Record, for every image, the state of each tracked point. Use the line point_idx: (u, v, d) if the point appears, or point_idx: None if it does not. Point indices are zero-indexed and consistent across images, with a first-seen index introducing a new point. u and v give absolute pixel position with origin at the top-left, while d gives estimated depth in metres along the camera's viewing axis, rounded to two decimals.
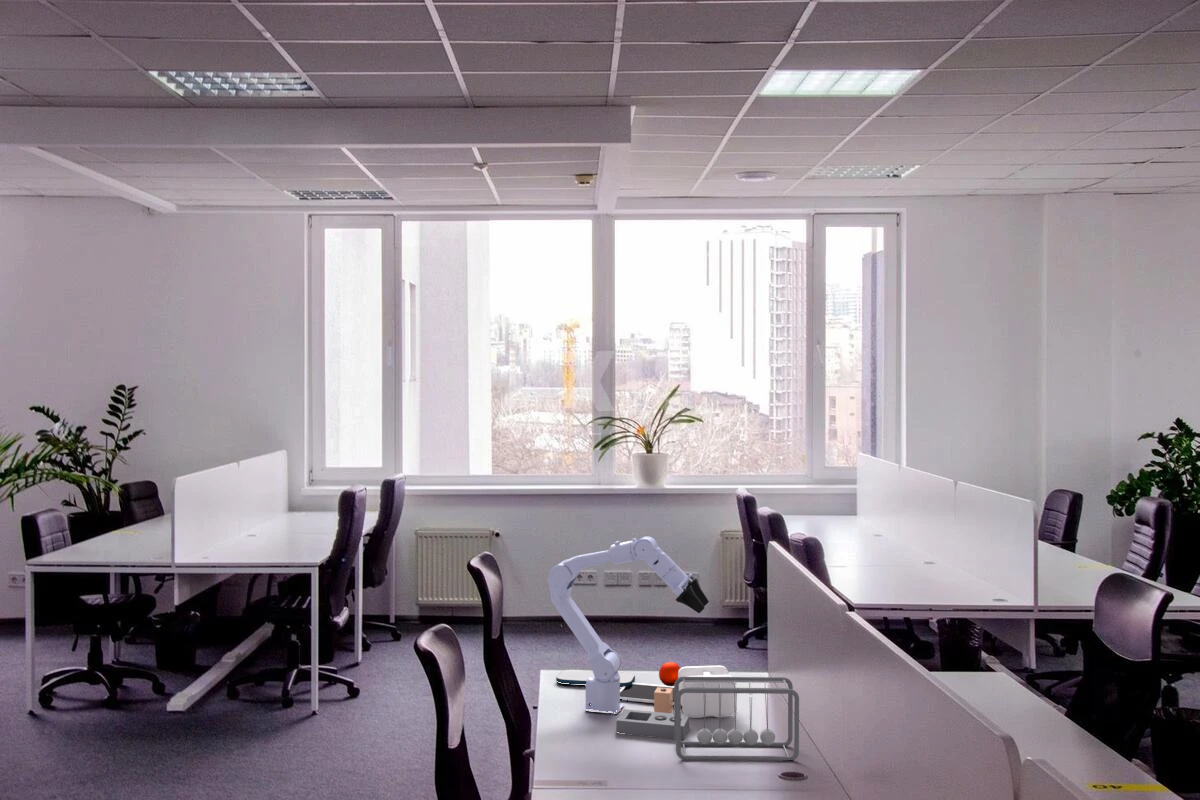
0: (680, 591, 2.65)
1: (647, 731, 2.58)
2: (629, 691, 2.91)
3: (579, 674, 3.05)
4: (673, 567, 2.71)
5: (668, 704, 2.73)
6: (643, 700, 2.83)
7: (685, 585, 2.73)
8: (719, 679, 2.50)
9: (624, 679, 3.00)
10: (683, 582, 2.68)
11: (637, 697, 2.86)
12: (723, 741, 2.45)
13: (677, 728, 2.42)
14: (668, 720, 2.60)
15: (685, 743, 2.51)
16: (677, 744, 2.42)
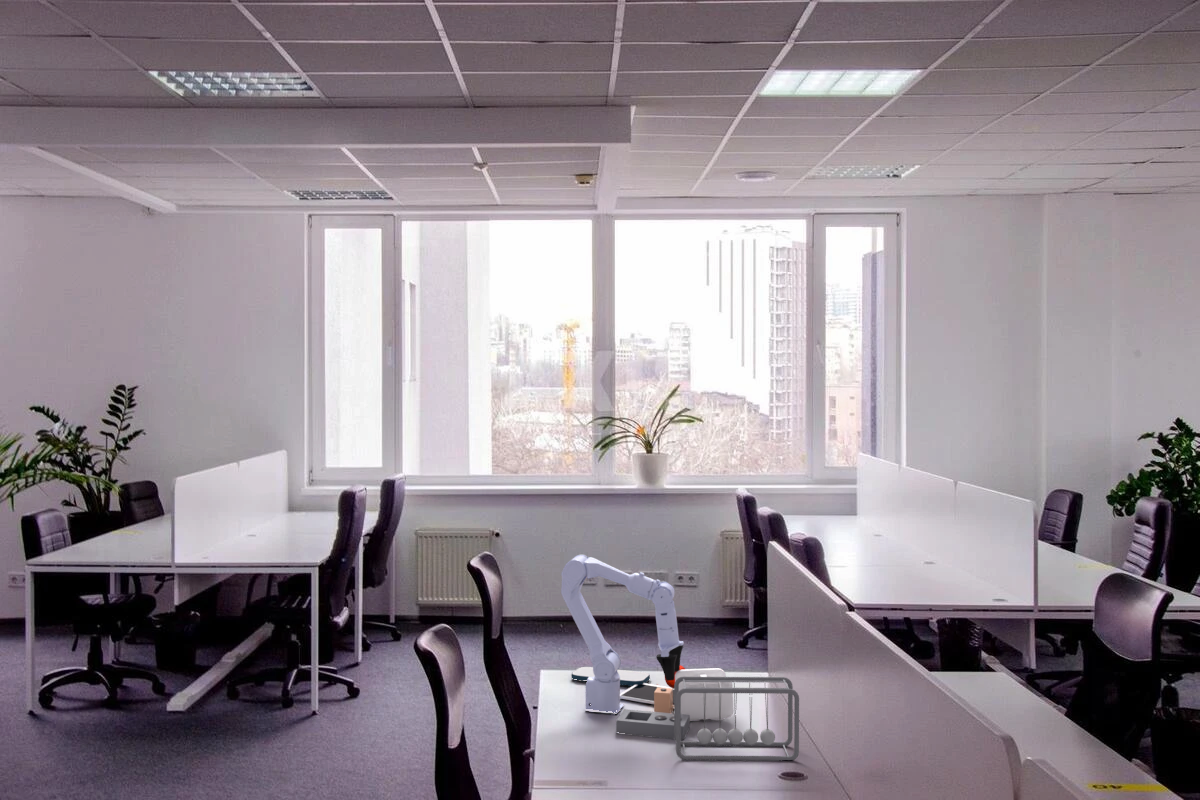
0: (666, 655, 2.67)
1: (647, 731, 2.58)
2: (636, 691, 2.91)
3: None
4: (673, 628, 2.72)
5: (668, 704, 2.73)
6: (645, 701, 2.83)
7: None
8: (719, 679, 2.50)
9: (637, 677, 3.01)
10: (673, 647, 2.70)
11: (641, 697, 2.85)
12: (723, 741, 2.45)
13: (677, 728, 2.42)
14: (668, 720, 2.60)
15: (685, 743, 2.51)
16: (677, 744, 2.42)
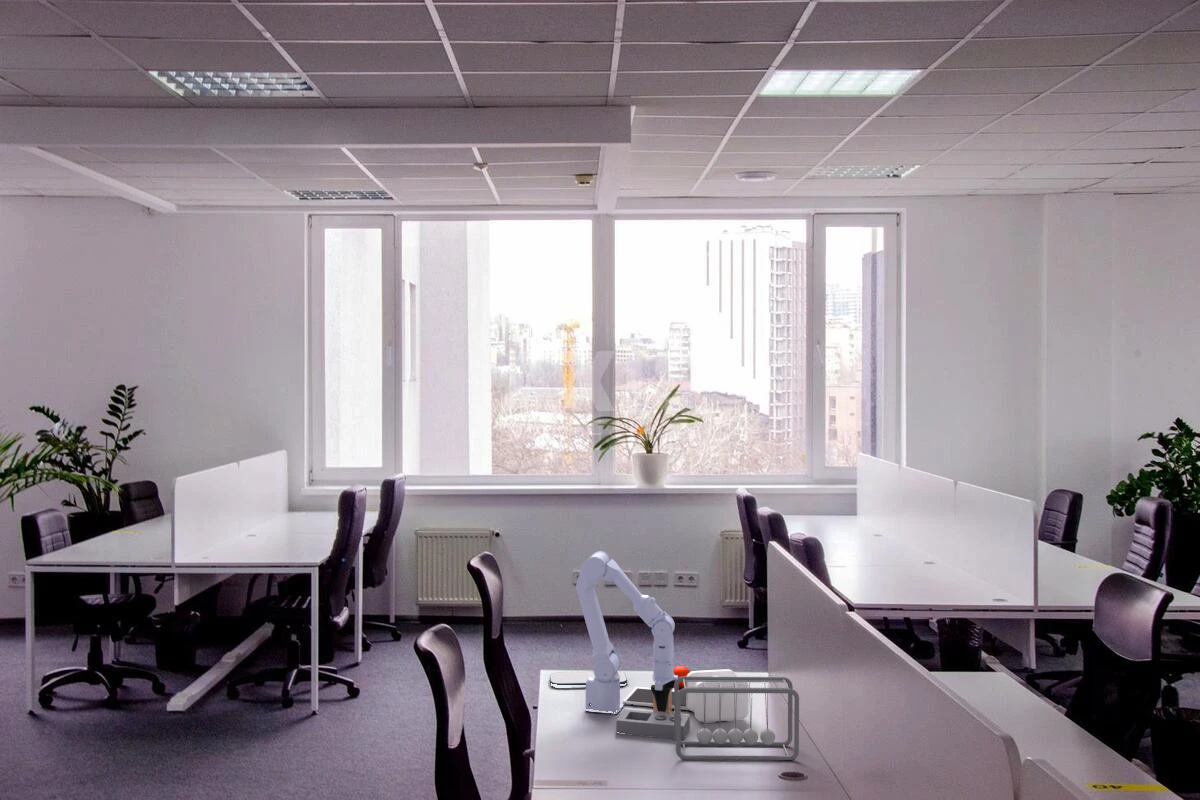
0: (659, 688, 2.68)
1: (647, 731, 2.58)
2: (638, 696, 2.88)
3: (570, 677, 3.04)
4: (670, 662, 2.73)
5: (667, 704, 2.73)
6: None
7: None
8: (719, 679, 2.50)
9: None
10: (667, 681, 2.71)
11: (647, 702, 2.82)
12: (723, 741, 2.45)
13: (677, 728, 2.42)
14: (668, 720, 2.60)
15: (685, 743, 2.51)
16: (677, 744, 2.42)
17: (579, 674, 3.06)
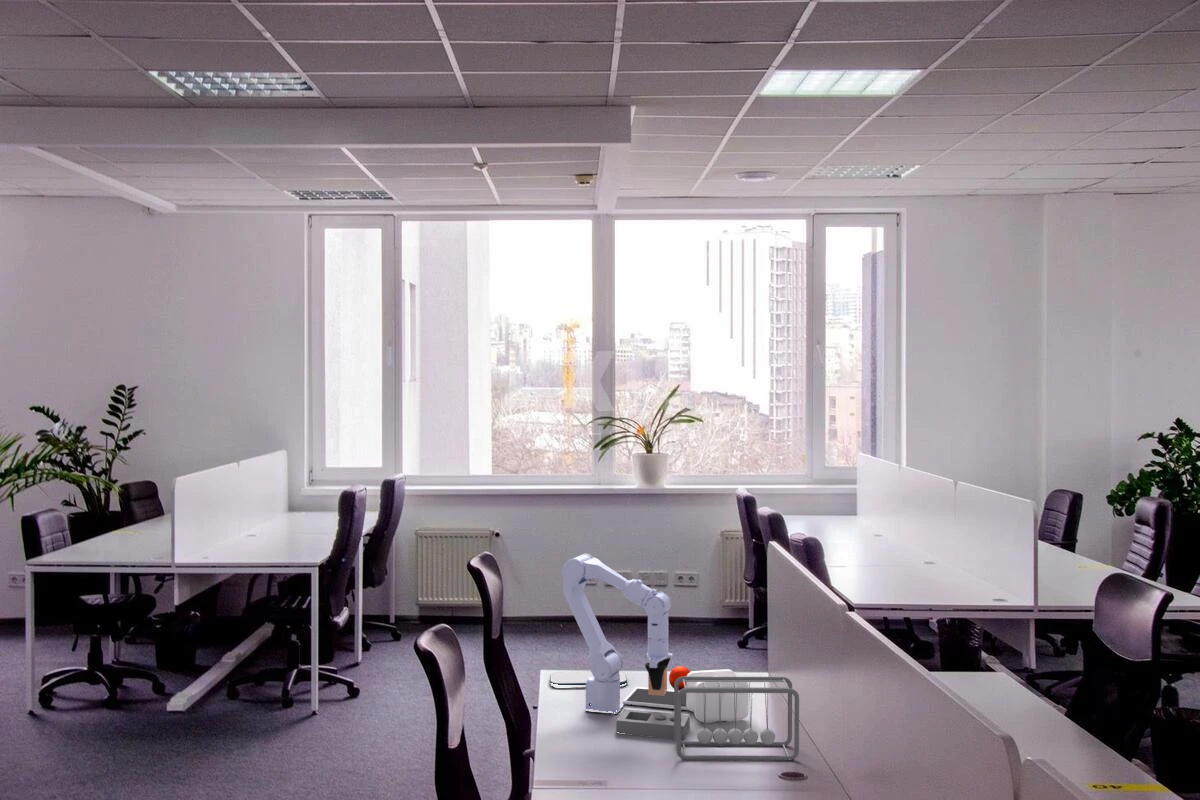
0: (654, 666, 2.65)
1: (647, 731, 2.58)
2: (638, 696, 2.88)
3: (570, 676, 3.04)
4: (664, 640, 2.70)
5: (662, 683, 2.70)
6: (653, 705, 2.80)
7: None
8: (719, 679, 2.51)
9: None
10: (662, 659, 2.68)
11: (647, 702, 2.82)
12: (723, 741, 2.45)
13: (677, 728, 2.42)
14: (668, 720, 2.60)
15: (685, 743, 2.51)
16: (677, 744, 2.42)
17: (579, 674, 3.07)
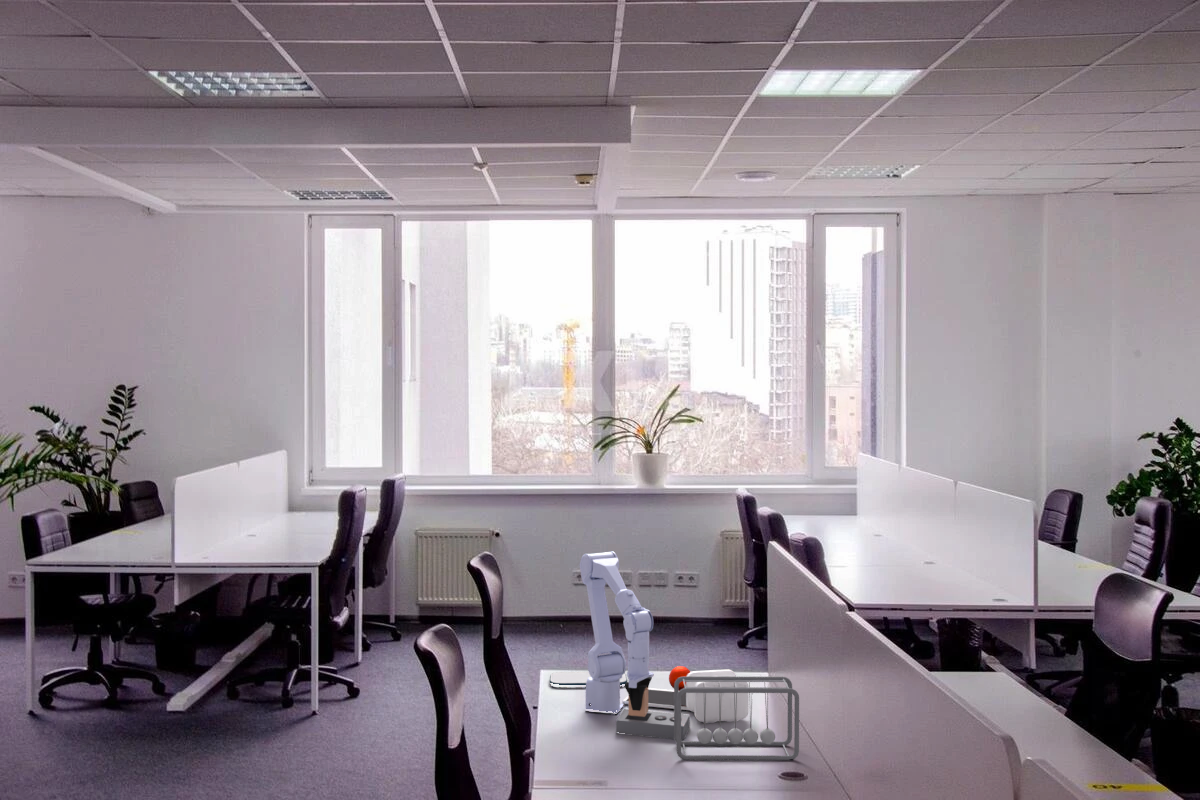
0: (634, 686, 2.56)
1: (647, 731, 2.58)
2: None
3: (570, 676, 3.04)
4: (645, 658, 2.60)
5: (643, 703, 2.60)
6: (653, 705, 2.80)
7: None
8: (719, 679, 2.51)
9: None
10: (642, 678, 2.59)
11: None
12: (723, 741, 2.45)
13: (677, 728, 2.42)
14: (668, 720, 2.60)
15: (685, 743, 2.51)
16: (677, 744, 2.42)
17: (579, 674, 3.07)
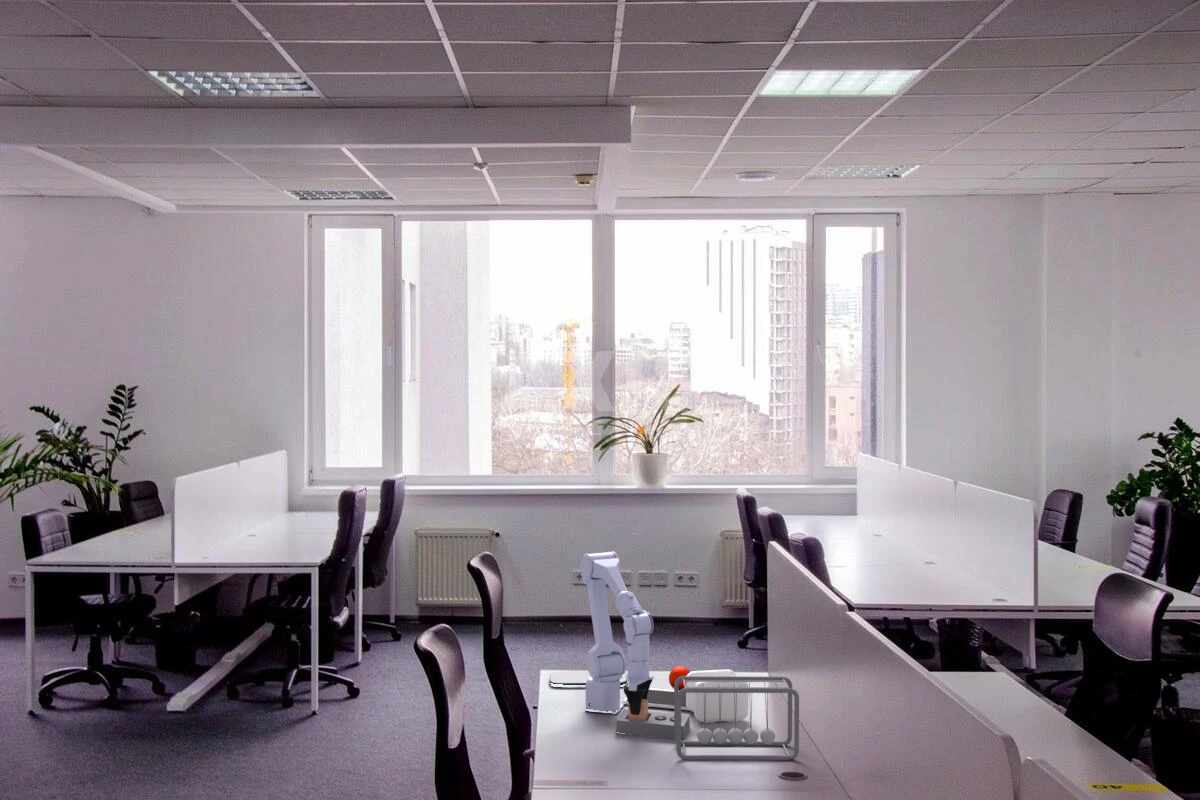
0: (634, 689, 2.56)
1: (647, 731, 2.58)
2: None
3: (570, 676, 3.04)
4: (645, 661, 2.60)
5: (643, 716, 2.60)
6: (653, 705, 2.80)
7: None
8: (719, 679, 2.51)
9: None
10: (642, 681, 2.59)
11: None
12: (723, 741, 2.45)
13: (677, 728, 2.42)
14: (668, 720, 2.60)
15: (685, 743, 2.51)
16: (677, 744, 2.42)
17: (579, 674, 3.07)
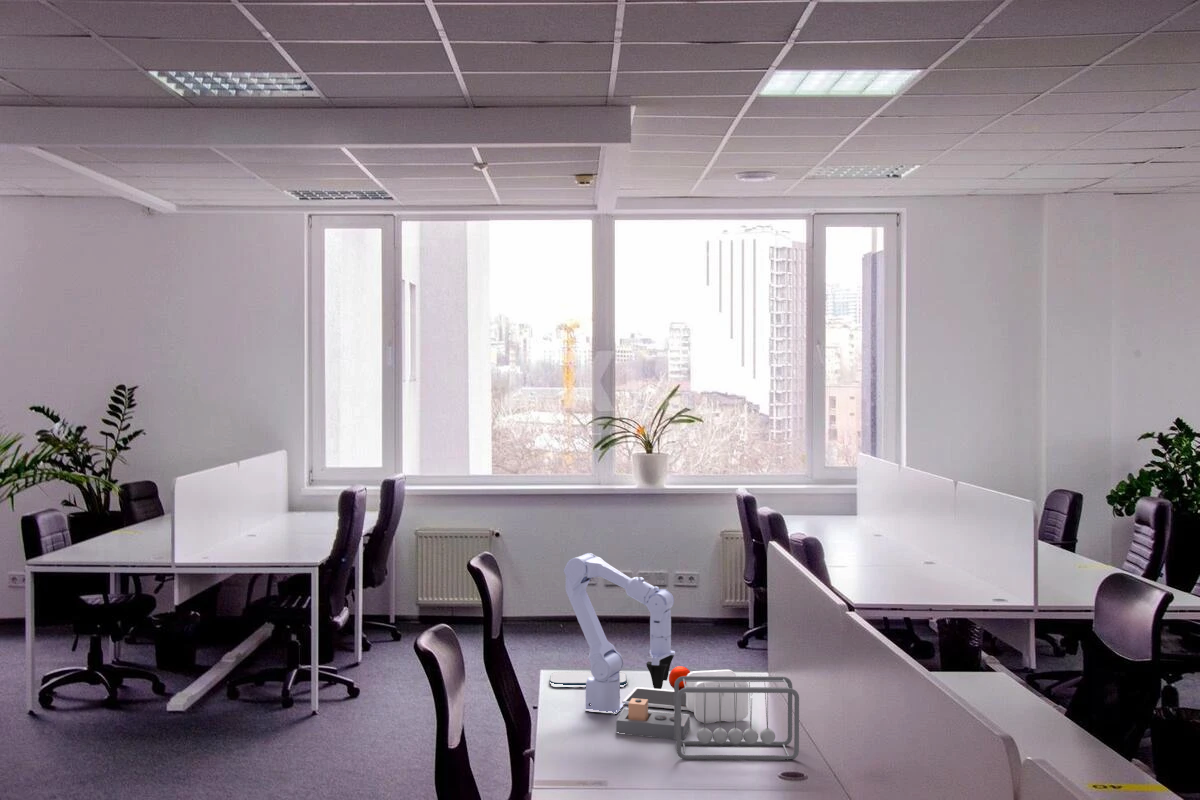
0: (656, 663, 2.64)
1: (647, 731, 2.58)
2: (638, 696, 2.87)
3: (570, 676, 3.04)
4: (667, 637, 2.69)
5: (643, 716, 2.60)
6: (653, 705, 2.79)
7: None
8: (719, 679, 2.51)
9: None
10: (664, 656, 2.67)
11: None
12: (723, 740, 2.45)
13: (677, 728, 2.42)
14: (668, 720, 2.60)
15: (685, 743, 2.51)
16: (677, 744, 2.42)
17: (580, 674, 3.07)
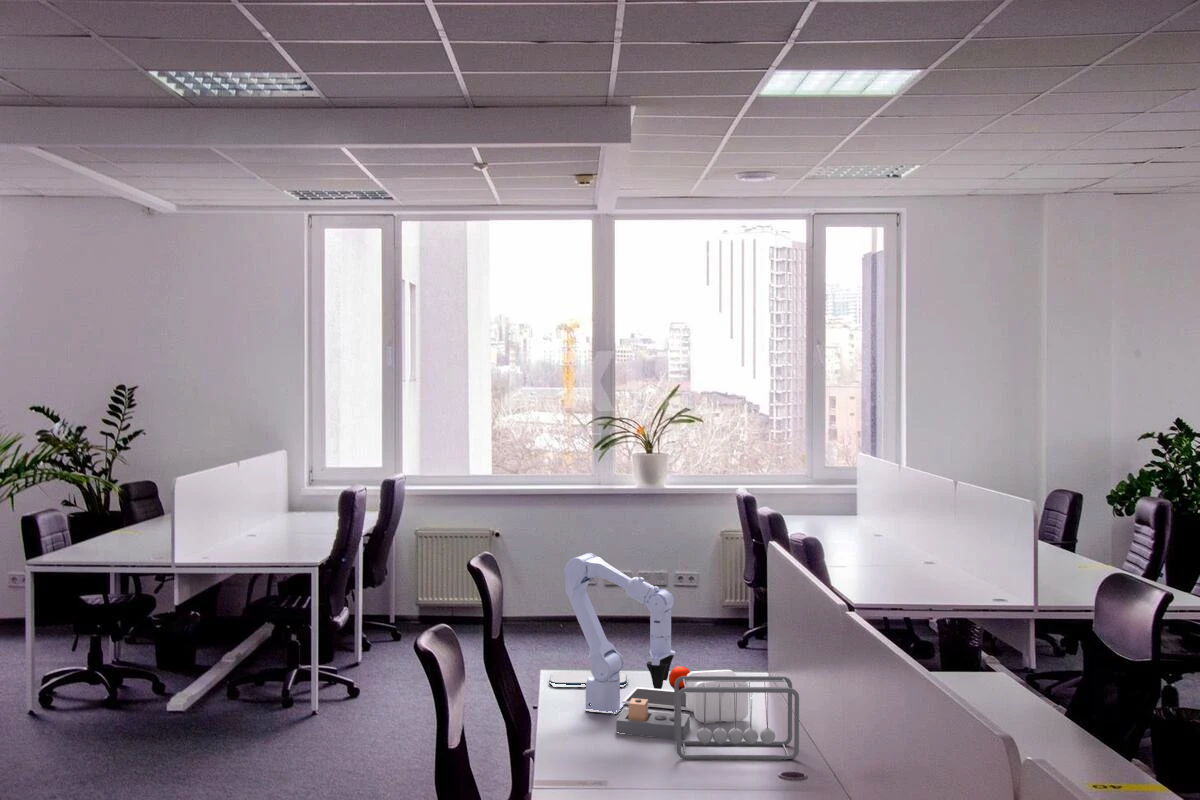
0: (656, 663, 2.64)
1: (647, 731, 2.58)
2: (638, 696, 2.87)
3: (571, 676, 3.04)
4: (667, 637, 2.69)
5: (643, 716, 2.60)
6: (653, 705, 2.79)
7: None
8: (719, 678, 2.51)
9: None
10: (664, 656, 2.67)
11: None
12: (723, 740, 2.45)
13: (677, 727, 2.42)
14: (668, 720, 2.60)
15: (685, 742, 2.51)
16: (677, 743, 2.42)
17: (580, 674, 3.07)
